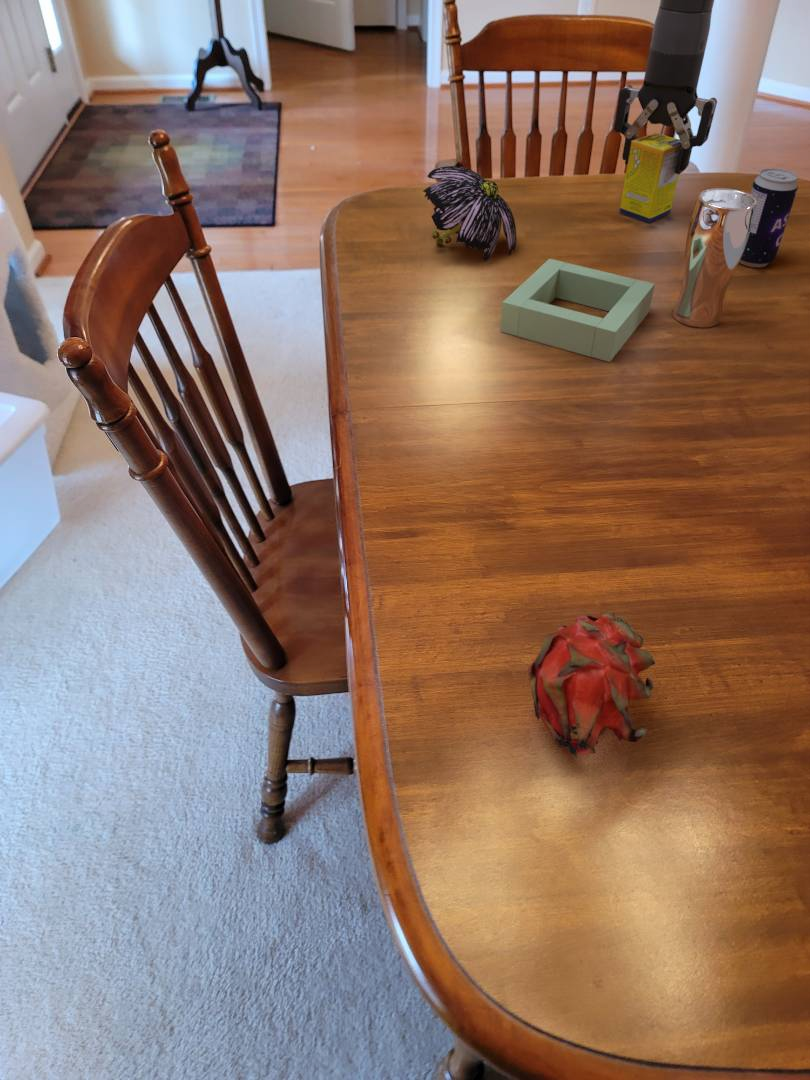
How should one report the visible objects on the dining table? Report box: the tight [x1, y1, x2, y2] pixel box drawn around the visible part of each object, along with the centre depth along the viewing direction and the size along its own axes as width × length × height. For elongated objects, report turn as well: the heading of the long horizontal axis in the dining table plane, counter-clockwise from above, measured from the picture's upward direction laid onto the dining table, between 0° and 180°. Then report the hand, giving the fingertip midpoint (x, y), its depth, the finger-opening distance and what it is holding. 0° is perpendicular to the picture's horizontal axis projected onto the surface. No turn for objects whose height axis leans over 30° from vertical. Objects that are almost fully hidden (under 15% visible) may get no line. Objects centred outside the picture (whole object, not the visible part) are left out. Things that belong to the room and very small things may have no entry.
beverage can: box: [739, 167, 799, 268], centre depth 115 cm, size 6×6×12 cm
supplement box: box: [618, 132, 682, 224], centre depth 128 cm, size 6×6×11 cm
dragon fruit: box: [527, 612, 656, 758], centre depth 59 cm, size 8×8×12 cm
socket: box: [499, 258, 656, 363], centre depth 104 cm, size 14×14×4 cm
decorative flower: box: [422, 165, 517, 262], centre depth 119 cm, size 14×12×15 cm
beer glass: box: [672, 187, 757, 329], centre depth 102 cm, size 7×7×15 cm
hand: (653, 167), depth 127 cm, fingers open, 7 cm apart
